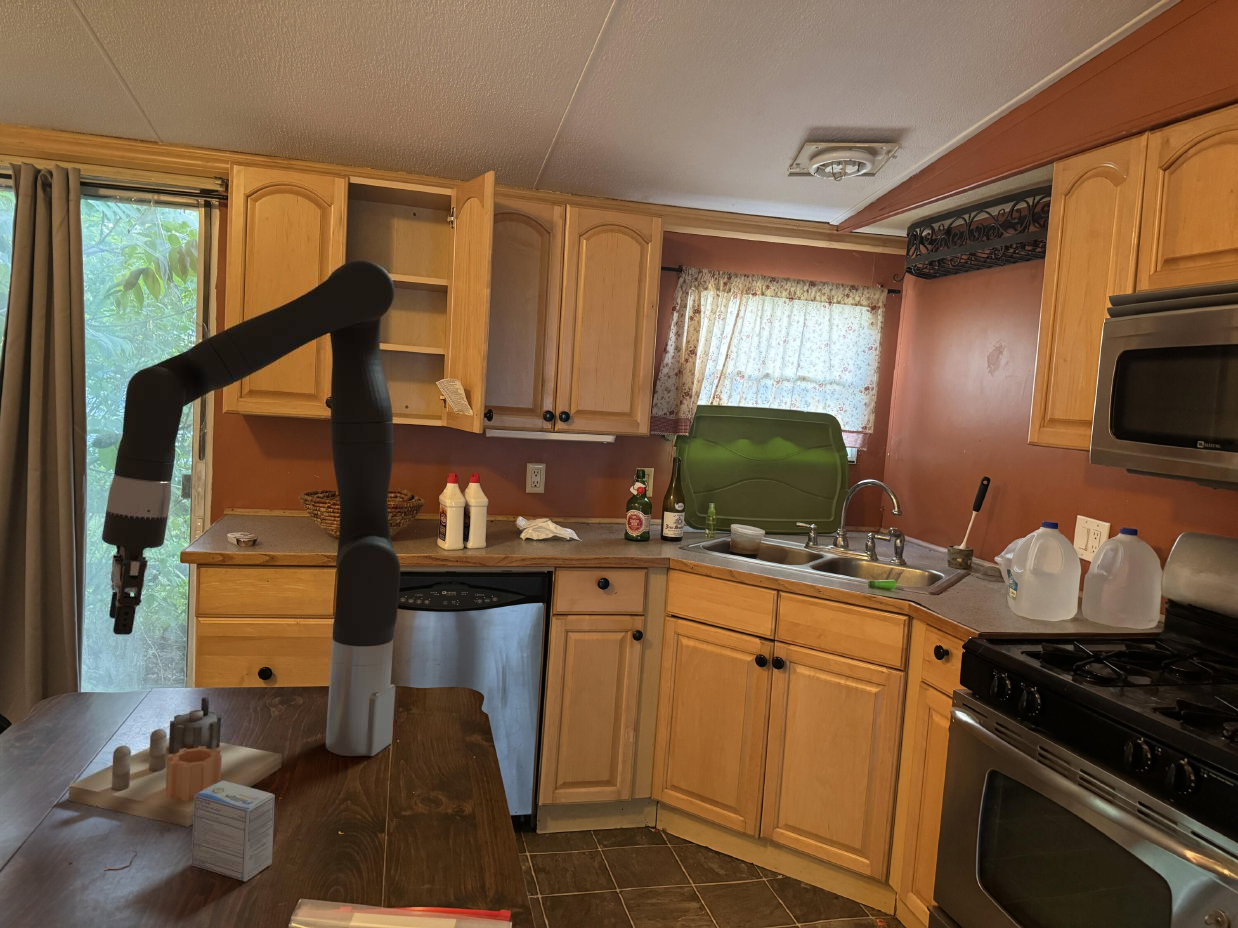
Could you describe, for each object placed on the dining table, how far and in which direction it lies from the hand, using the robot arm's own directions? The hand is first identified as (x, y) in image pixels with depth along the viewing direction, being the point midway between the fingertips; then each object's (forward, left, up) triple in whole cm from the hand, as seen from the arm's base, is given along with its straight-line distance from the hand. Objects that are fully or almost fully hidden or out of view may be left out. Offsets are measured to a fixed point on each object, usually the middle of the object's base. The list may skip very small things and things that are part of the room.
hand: (119, 625), depth 118 cm
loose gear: (-16, +4, -19) cm, 25 cm away
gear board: (-11, -1, -21) cm, 23 cm away
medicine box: (-30, +14, -21) cm, 39 cm away
